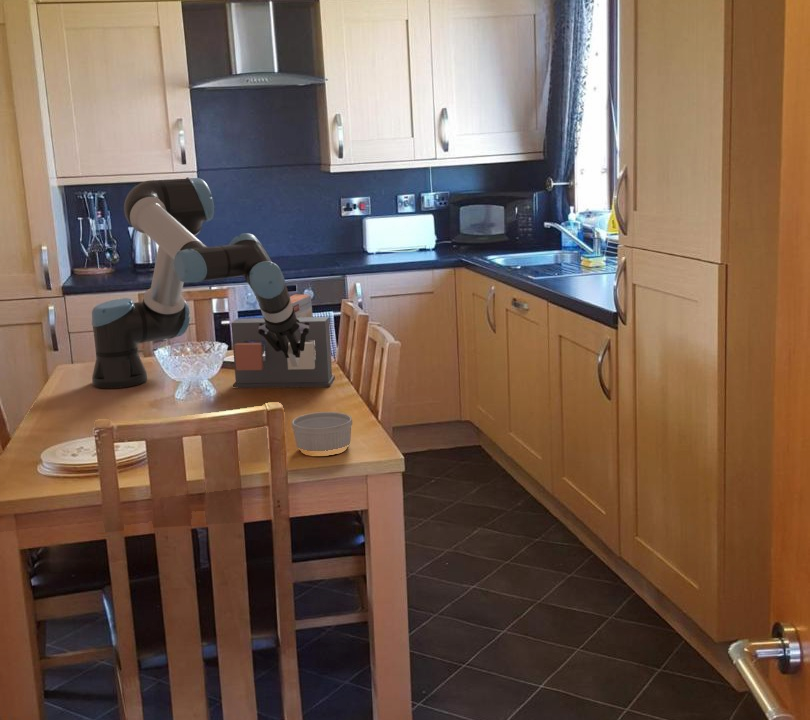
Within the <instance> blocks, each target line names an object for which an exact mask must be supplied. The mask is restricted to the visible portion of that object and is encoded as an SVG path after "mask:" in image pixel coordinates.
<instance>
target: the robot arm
mask: <svg viewBox="0 0 810 720" xmlns="http://www.w3.org/2000/svg"><path fill="white" fill-rule="evenodd" d="M123 212H124V216H125V219H126V221H127V222H128V223H129V225H130V226H131V227H132V228H133V229H134V230H135V231H137V232H139V233H141V234H146V235H147V236H148V237H149V238H150V239H151V240H152V241H153V242H154V243H156V244H157V245H158V248H157V253H156V259H155V264H154V269H153V275H152V280H151V285H150V288H149V289H147V290H146V291H145V292H144V295H143V298H142V299H143V300H142V301H139V302H134V300H133V299H132V298H127V297H126V298H120V299H119V298H118V299H112V300H108V301H105V302H102V303H99V304H97V305H96V306H95V307H94V308H93V309H92V311H91V326H92V330H93V340H94V349H95V350H94V351H95V358H96V359H95V363H94V367H93V371H92V375H91V376H92V377H91V380H92V381H91V382H92V386H93V387H95V388H97V389H108V390H109V389H123V388H130V387H134V386H139V385H141V384H144V383H146V382H147V381H148V375H147V370H146V368H145V365H144V363H143V360H142V358H141V356H140V354H139V346H138V345H139V344H142V343H149V342H156V341H162V340H170V339H173V338H177V337H181V336H183V335H184V334H186V332H187V330H188V329H189V325H190V319H191V318H190V314H191V313H190V308H189V305H188V303H187V301H186V300H185V298H184V296H183V294H182V293H183V288H184V284H185V283H186V284H187V283H197V284H198V283H200V282H207V281H214V280H221V279H229V278H237V277H238V278H239V277H243V278H244V279H245V281H246V283H247V284H248V285H249V287H250V289H251V290H252V292H253V294H254V296H255V298H256V301H257V302H258V303H257V304H258V306H259V309H260V311H261V315H262V317H263V318H264V320H265V323H266V324H263V323H260V324H259V330H258V333H259V334H261V335H262V336H264V337H265V339H266V340H267V341H268V342H269V343H270V345H271V346H272V347H273V348H274V350H275V351H277V352H279V351H280V350H281V351H283V352H284V354H285V357H286V358H289V359H290V361H291V364H292V367H298V362H299V358H300V351H304V346H305V338H306V335H307V334H308V333H309V323H308V322H306V323H304V324H302V323H300V321H299V320H298V319H297V318H296V315H295V311H294V308H293V306H292V302H291V299H290V294H289V291H288V287H287V285H286V284H287V283H286V281H285V275H284V274H283V272H282V270H281V268H280V267H279V265H278V264H276V263H275V262H272V259H271V258H270V256H269V254H268V253H267V250H266V249H265V247H264V245H263V244H262V243H261V242H260V240H259V239H258V238H257V236H256V235H254V234H252V233H247V232H246V233H241V234H240V235H238V236H235V237H233V238H232V239H231V241H230V242H229V244H227V245H219V246H207V245H206V244H205V243H203V242H202V241H201V240H200V239H198V238H197V237H196V236H197V235H198V234H199V233H200V232H201V230H202V225H203V222H205V223H207V222H210V221H211V220H212V219H213V218H214V215H215V214H214V213H215V204H214V199H213V194H212V192H211V189H210V187H209V185H208V184H207V182H206V181H205V180H204V179H202V178H200V177H186V178H173V179H172V178H171V179H169V178H168V179H158V180H156V179H155V180H154V179H153V180H145V181H142V182H140V183H139V184H136V185H135V186H134V187H133V188H132V189H131V190H130V191H129V192H128V193H127V196H126V198H125V200H124V205H123ZM298 328H299V329H300V331H301V332H300V333H301V339H300V343H298V341H297V338H296V335H295V331H296V330H297V329H298ZM274 333H275V334H276V336H277V337H276V336H275V334H274ZM286 336H287V338H286ZM287 339H289V341H287ZM289 342H290V344H289V346H288V343H289Z"/></svg>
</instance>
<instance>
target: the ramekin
mask: <svg viewBox="0 0 810 720" xmlns="http://www.w3.org/2000/svg"><path fill="white" fill-rule="evenodd" d="M352 418H353V417H352V416H350V415H349V414H347V413H342V412H335V411H324V412H323V411H321V412H320V411H319V412H311V413H306V414H302V415H299V416H297V417H295V418H294V419H293V420H292V421H291V428H292V430H293V434H294V441H295V445H296V448H297V447H298V448H300V449H303V450H307V451H325V450H326V451H328V450H333V449H338V448H342V447H345V446H347V445H349V444H350V445H351V439H352V438H351V437H352V425H353V419H352ZM350 445H349V446H350Z"/></svg>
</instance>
